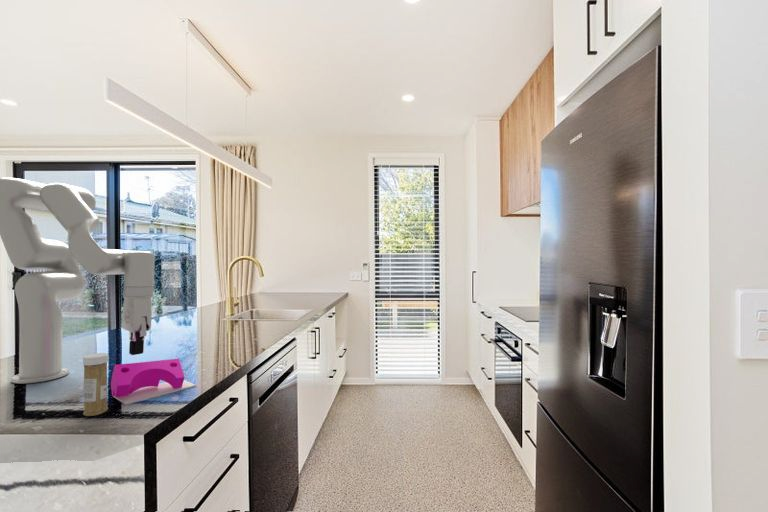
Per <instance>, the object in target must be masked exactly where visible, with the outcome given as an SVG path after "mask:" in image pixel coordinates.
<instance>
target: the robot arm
mask: <svg viewBox="0 0 768 512" xmlns="http://www.w3.org/2000/svg"><path fill="white" fill-rule="evenodd" d="M96 202H97V201H96V199H95V196H94V194H93V193H92V192H90V190H88V189H87V188H83V187H80V186H75V185H70V184H66V183H64V182H63V183H61V182H52V183H48V184H46V183H43V182H42V183H41V182H37V181H32V180H27V179H23V178H16V177H1V178H0V239H1V242H2V243H3V246H4V249H5V251H6V254H7V257H8V258H9V260H10V263H11V264H12V265H13V266H14V268H17V269H19V270H25V271H26V270H27V271H29V270H30V271H33V272H30V273H26V274H25V275H22V276H21V277H20V278H18V280H17V281H16V283H15V285H14V292H15V297H16V301H17V304H18V306H17V307H18V315H19V348H18V349H19V353H18V355H19V356H18V357H19V358H18V364H19V365H18V366H19V367H18V374H16V375H13V376H12V377H11V382H12V383H13V384H18V385H19V384H21V385H22V384H23V385H25V384H33V383H34V384H35V383H42V382H47V381H53V380H56V379H59V378H63V377H65V376H66V375H68V374H69V368H67V367H63V313H62V311H61V309H60V307H59V306H58V302H66V301H71V300H74V299H77V298H78V297H80V296H81V295H82V294H83V292H84V291H85V280H84V276H83V274H82V272H81V270H80V267H79V265H80V266H81V268H83V269H84V270H85V271H87V272H88V273H90V274H92V275H94V276H95V275H96V276H106V275H107V276H108V275H113V276H115V275H123V295H122V297H123V298H124V300H123V303H122V304H123V306H122V307H123V308H122V315H121V328H122V329H123V330H124V331H127V332H128V335H129V336H128V337H129V338H128V339H129V345H128V346H129V349H128V350H129V352H128V353H129V355H131V356H136V355H141V354H144V347H145V345H144V344H145V337H147V332H148V331H150V329H151V328H152V320H153V319H152V317H153V316H152V298H153V297H154V286H155V285H154V284H155V261H156V260H155V254H154V252H153V251H147V250H127V249H116V248H102V247H101V246H100V245H99V244H98V243H97V241H96V240H95V239H94V238H93V236H92V234H91V233H93V232H94V231H95V230H97V228H98V227H99V225H100V219H99V217H98V216H97V215H96V214H95V213H94V211H93V210H94V209H95V207H96ZM24 209H29V210H30V209H31V210H35V211H36V210H37V211H44V212H50V214H52V216H53V217H54V218H55V219H56V220H57V221H58V222H59V224H60V225H61V226H62V228H63V229H64V230H65V231H66V232H67V238H66V240H67V243H65V242H63V241H61V240H57V239H47V238H43V236H42V235H41V233H40V231H39V228H38V225H37V223H36V222H35V220H34V219H33V218H32V217H31V216H30V215H29V214H28V213H26V212H25V210H24ZM78 264H79V265H78ZM35 270H36V271H35ZM38 270H40V271H38ZM41 270H42V271H41ZM43 270H44V271H43Z"/></svg>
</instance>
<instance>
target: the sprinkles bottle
mask: <svg viewBox="0 0 768 512" xmlns="http://www.w3.org/2000/svg"><path fill="white" fill-rule="evenodd" d="M82 361H83V363H82V364H83V367H84V368H83V372H84V373H83V412H82V415H83V416H85V417H93V416H99V415H102V414H104V413H106V412H107V411H108V409H109V408H108V361H109V355H108V353H105V352H98V353H97V352H95V353H91V354H87V355H86V354H85V355H84V356H83V358H82Z"/></svg>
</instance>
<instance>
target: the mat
mask: <svg viewBox="0 0 768 512" xmlns="http://www.w3.org/2000/svg"><path fill="white" fill-rule="evenodd" d="M196 385H197V384H195V383H192V382H190V381H187V380H186V379H184V381H183V385H182V388H176V389H173V387H172V386H171V385H170V384H169V383H167V382H165V381H164V382H161V383H160V382H159V385H158V387H155V386H148V387H143V388H140V389H137V390H135V391H134V392H132V393H131V394H128V396H122V397H115V396H112V397H113V398H115V399H116V400H117V401H118V402H121V403H122V404H124V405H125V406H126V405H130V404H134V403H137V402H142V401H144V400H145V401H146V400H149V399H153V398H156V397H160V396H164V395H168V394H172V393H176V392H179V391H183V390H187V389H191V388H195V387H196Z"/></svg>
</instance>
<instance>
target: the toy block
mask: <svg viewBox="0 0 768 512" xmlns="http://www.w3.org/2000/svg"><path fill="white" fill-rule="evenodd" d="M112 370H113V371H112V376H111V380H110V389H111V396H112V397H113V396H115V397H122V396H128V394H131V393H132V392H134V391H135V390H137V389H140V388H144V387H148V386H155V387H158V385H159V384H160V381H163V382H164V383H165V382H167V383H169V384H170V385H171V386H172V387H173V389H176V388H182V385H183V381H184V380H185V373H184V370H183V368H182V364H181V362H180V358H170V359H163V360H161V359H159V360H152V361H140V362H131V363H130V362H129V363H120V364H114V367H113V369H112Z"/></svg>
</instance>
